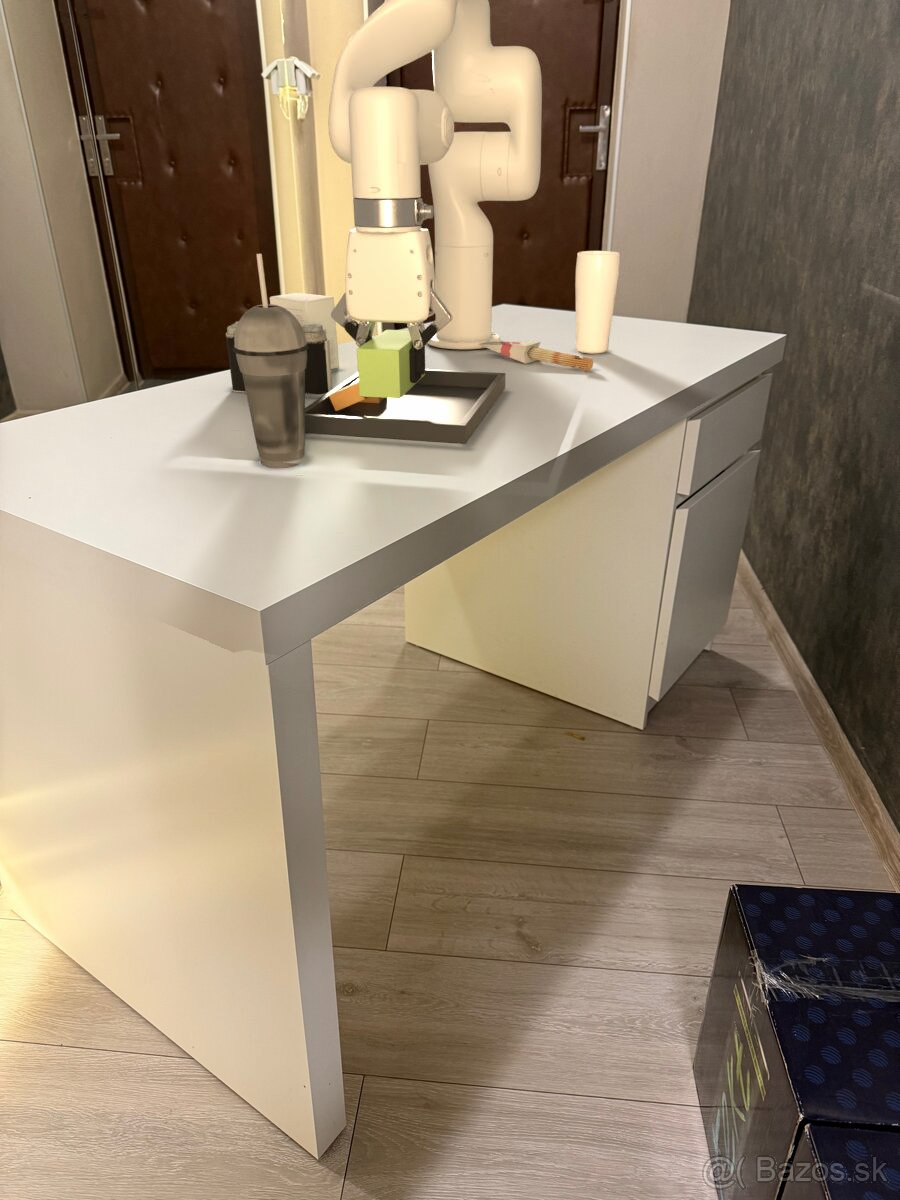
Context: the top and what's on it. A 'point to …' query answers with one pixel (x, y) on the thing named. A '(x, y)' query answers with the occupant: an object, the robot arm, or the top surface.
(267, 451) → the beverage cup
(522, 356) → the paintbrush
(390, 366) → the sponge
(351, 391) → the block
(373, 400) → the block
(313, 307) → the small box
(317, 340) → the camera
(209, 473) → the top surface
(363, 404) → the pan
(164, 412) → the top surface
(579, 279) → the drinking glass
